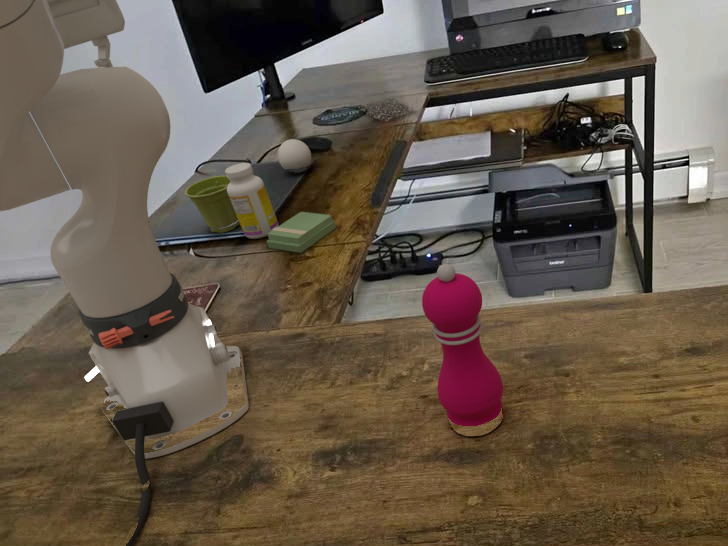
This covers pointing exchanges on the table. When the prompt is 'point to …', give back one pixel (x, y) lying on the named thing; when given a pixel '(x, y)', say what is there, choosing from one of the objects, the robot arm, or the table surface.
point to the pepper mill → (462, 349)
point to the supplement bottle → (250, 201)
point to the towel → (300, 232)
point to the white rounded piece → (294, 155)
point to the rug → (384, 109)
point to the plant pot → (214, 202)
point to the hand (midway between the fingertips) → (79, 81)
